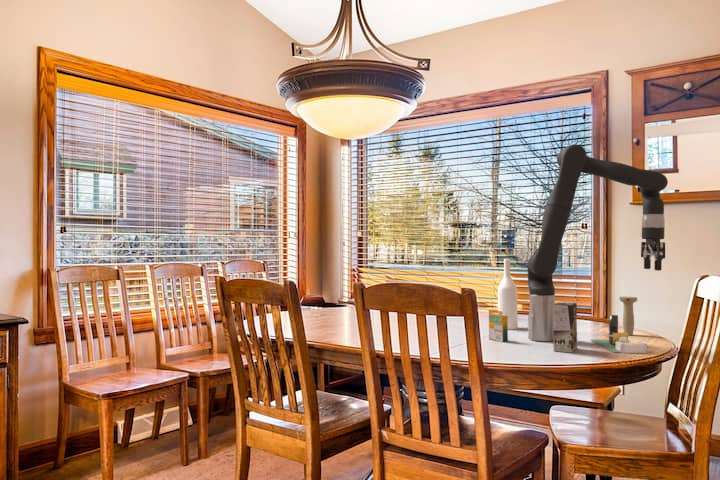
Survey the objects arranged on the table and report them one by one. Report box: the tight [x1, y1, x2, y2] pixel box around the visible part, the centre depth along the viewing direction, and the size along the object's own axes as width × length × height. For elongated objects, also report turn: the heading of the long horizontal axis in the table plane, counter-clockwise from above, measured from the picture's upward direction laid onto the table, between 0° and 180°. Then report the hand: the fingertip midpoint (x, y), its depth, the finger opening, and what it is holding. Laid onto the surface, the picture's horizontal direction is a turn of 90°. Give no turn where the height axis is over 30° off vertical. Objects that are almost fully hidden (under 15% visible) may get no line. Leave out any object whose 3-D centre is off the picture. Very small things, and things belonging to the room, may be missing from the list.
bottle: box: [497, 258, 519, 331], centre depth 234 cm, size 8×8×30 cm
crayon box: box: [488, 309, 509, 343], centre depth 207 cm, size 7×3×12 cm, turn 31°
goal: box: [616, 341, 648, 354], centre depth 184 cm, size 9×4×3 cm, turn 86°
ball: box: [618, 337, 631, 344], centre depth 190 cm, size 4×4×4 cm
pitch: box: [591, 339, 645, 354], centre depth 193 cm, size 11×22×1 cm, turn 176°
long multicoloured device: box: [608, 314, 629, 344], centre depth 197 cm, size 8×5×9 cm, turn 176°
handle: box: [618, 296, 638, 337], centre depth 215 cm, size 5×6×15 cm
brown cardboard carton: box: [608, 335, 615, 345], centre depth 195 cm, size 6×2×3 cm, turn 86°
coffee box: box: [553, 302, 578, 354], centre depth 188 cm, size 9×6×16 cm
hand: (652, 269), depth 203 cm, fingers open, 8 cm apart
